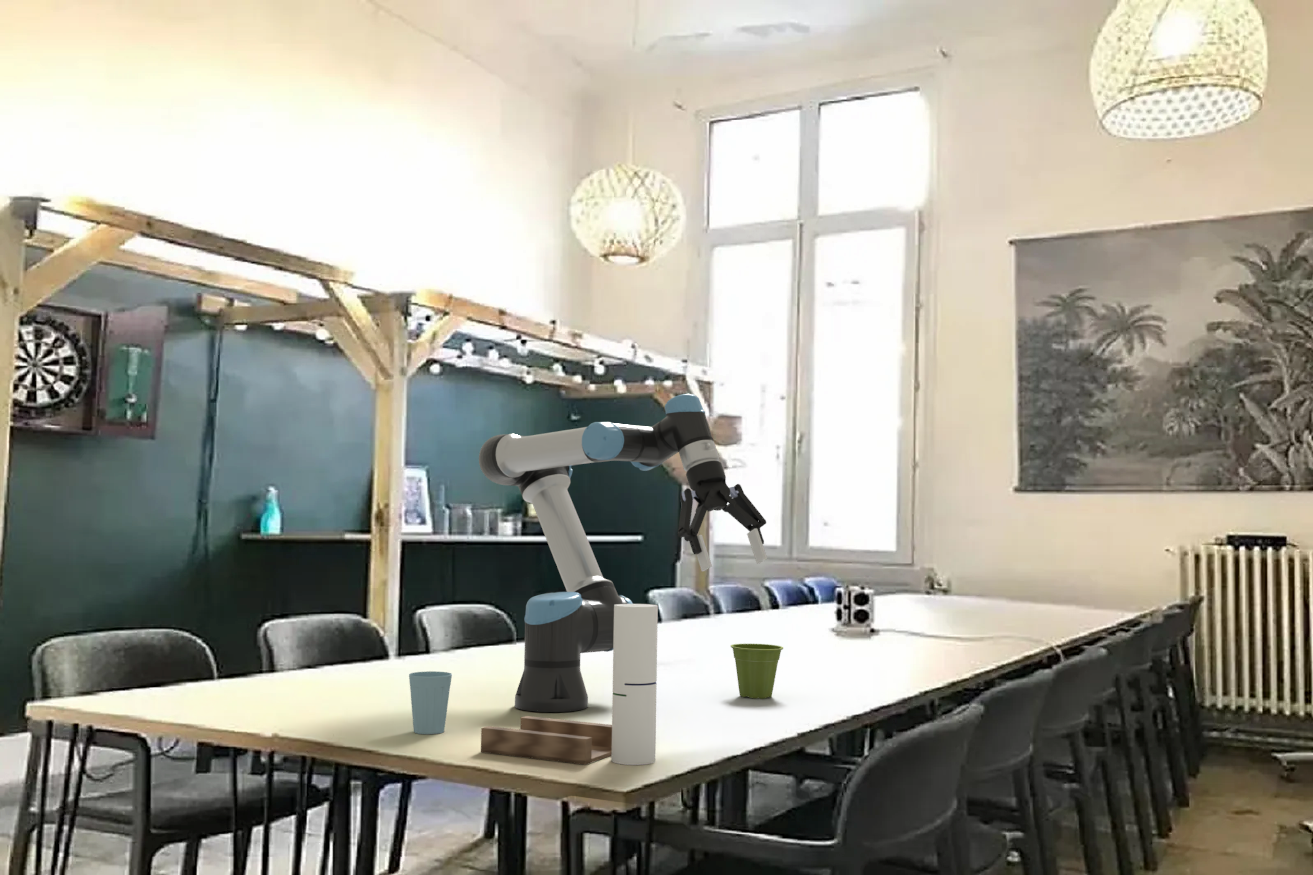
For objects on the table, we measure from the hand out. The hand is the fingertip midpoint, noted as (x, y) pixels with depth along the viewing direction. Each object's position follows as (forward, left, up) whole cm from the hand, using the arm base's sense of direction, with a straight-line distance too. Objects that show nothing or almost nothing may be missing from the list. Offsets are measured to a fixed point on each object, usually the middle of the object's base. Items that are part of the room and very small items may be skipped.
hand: (735, 565), depth 231 cm
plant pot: (-9, +35, -31) cm, 48 cm away
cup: (-44, -38, -31) cm, 66 cm away
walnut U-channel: (-15, -42, -30) cm, 54 cm away
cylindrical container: (0, -42, -31) cm, 52 cm away
